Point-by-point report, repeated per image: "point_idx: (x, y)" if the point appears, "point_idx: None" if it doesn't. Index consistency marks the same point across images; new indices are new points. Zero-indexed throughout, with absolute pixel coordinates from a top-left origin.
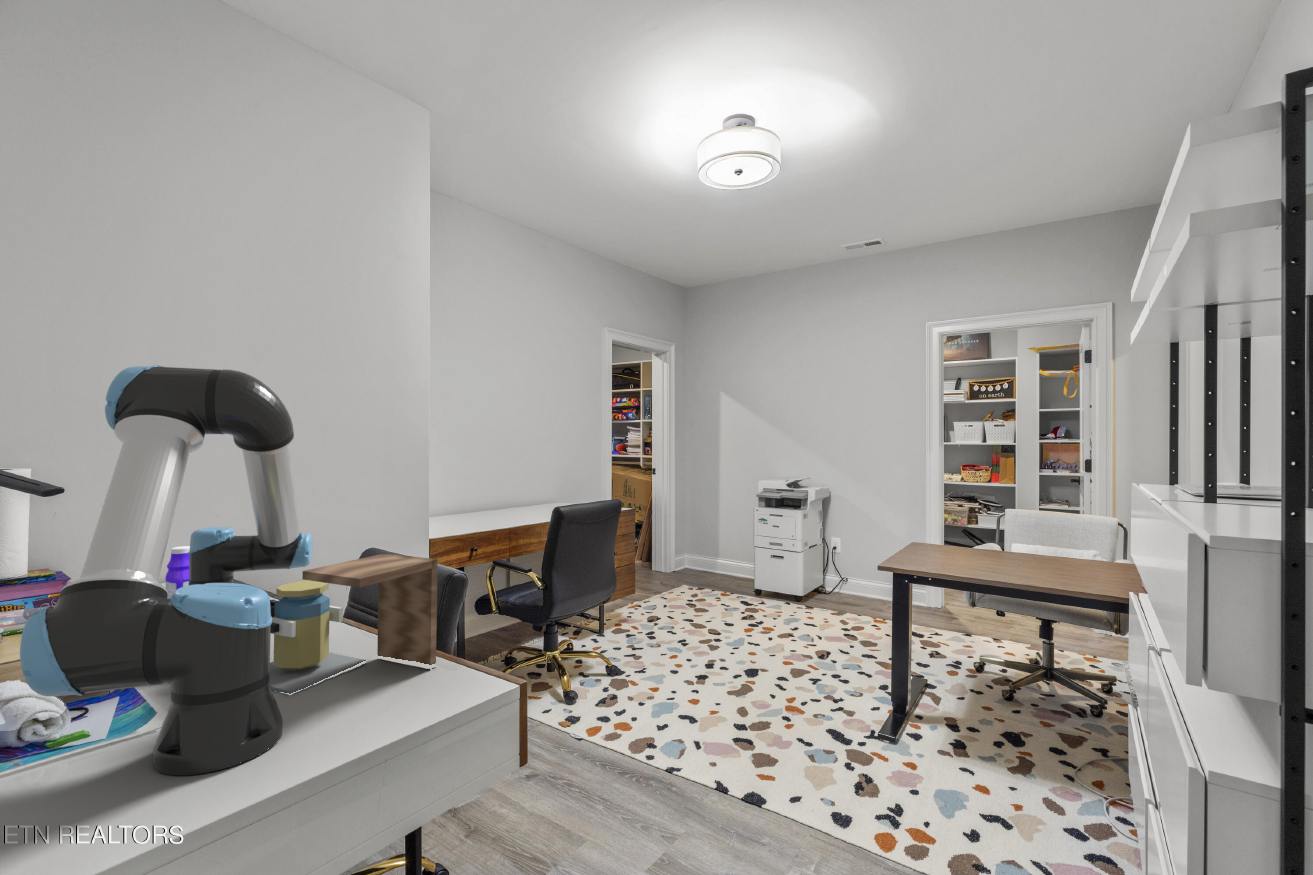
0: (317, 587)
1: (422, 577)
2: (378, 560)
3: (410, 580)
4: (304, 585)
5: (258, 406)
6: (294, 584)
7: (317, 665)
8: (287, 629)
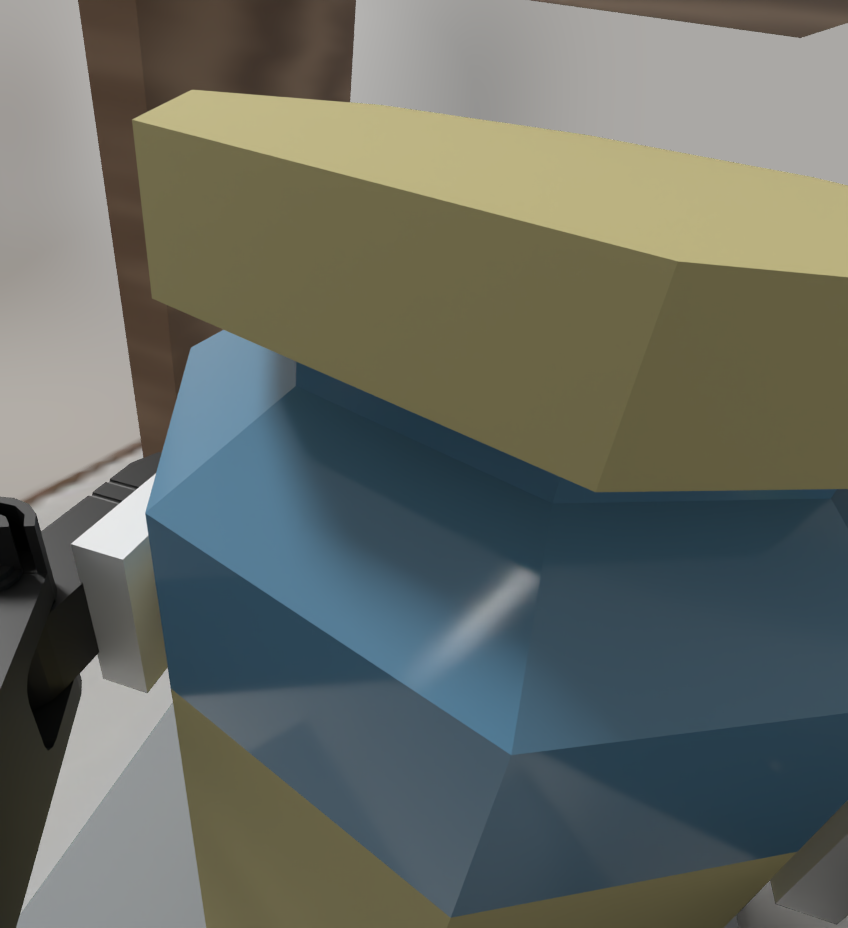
0: (594, 138)
1: (332, 33)
2: None
3: (296, 57)
4: (584, 156)
5: None
6: (610, 192)
7: None
8: None
